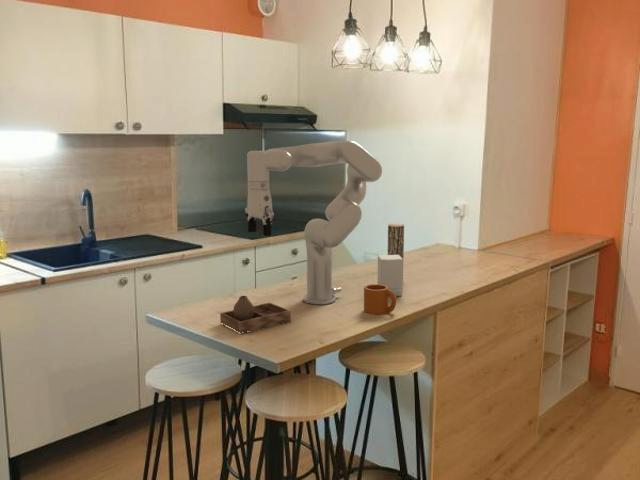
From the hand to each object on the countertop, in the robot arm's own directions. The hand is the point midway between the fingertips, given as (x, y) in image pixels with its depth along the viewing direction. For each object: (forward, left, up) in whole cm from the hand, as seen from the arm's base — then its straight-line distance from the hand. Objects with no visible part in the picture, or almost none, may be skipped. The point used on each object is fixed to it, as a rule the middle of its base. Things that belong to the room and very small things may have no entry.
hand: (259, 233), depth 219 cm
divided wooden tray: (+10, +12, -28) cm, 32 cm away
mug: (-32, +29, -29) cm, 52 cm away
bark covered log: (-67, +2, -28) cm, 73 cm away
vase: (+15, +12, -27) cm, 33 cm away
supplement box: (-52, +14, -28) cm, 61 cm away
